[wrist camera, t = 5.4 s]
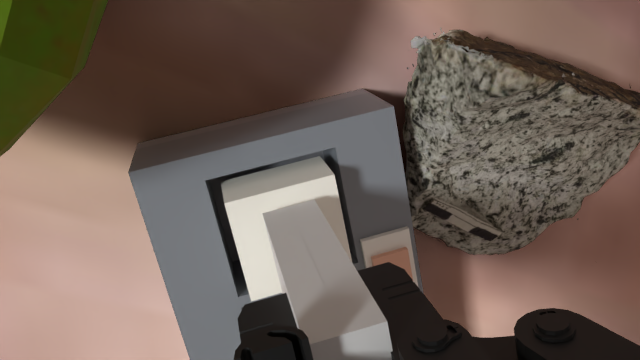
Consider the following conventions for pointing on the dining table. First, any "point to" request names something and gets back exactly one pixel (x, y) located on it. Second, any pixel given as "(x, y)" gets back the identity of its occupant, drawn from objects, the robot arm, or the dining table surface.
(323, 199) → the key
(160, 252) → the keypad
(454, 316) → the dining table surface
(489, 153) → the rock sample
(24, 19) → the apple
